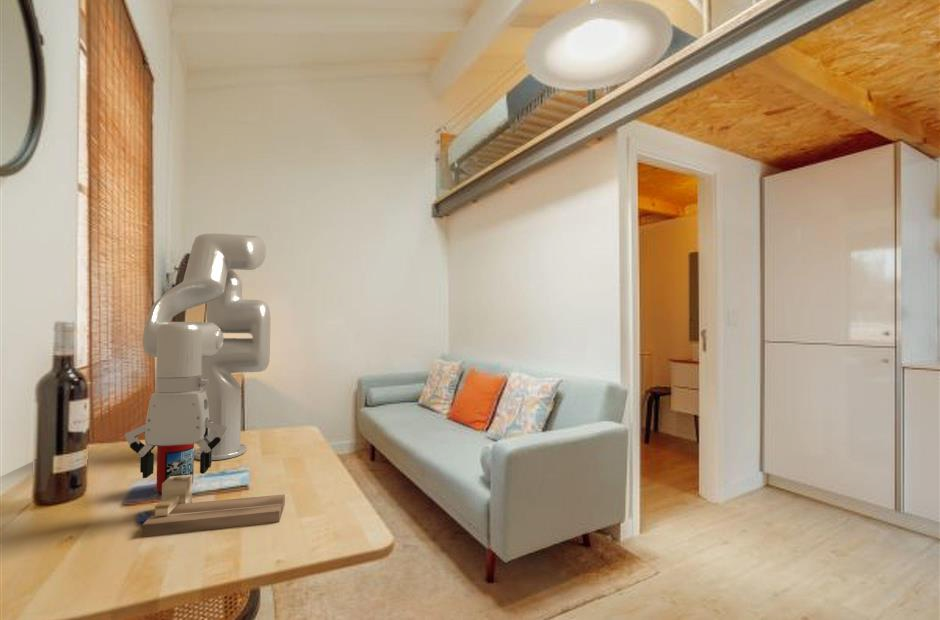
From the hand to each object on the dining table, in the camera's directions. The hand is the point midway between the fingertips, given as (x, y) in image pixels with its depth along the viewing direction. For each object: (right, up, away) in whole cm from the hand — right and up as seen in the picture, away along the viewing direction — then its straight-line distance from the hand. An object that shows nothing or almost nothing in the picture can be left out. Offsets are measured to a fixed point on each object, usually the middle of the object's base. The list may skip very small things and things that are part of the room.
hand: (176, 473), depth 87 cm
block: (+1, -7, -2) cm, 8 cm away
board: (+10, -7, -3) cm, 13 cm away
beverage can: (-7, -8, +11) cm, 15 cm away
